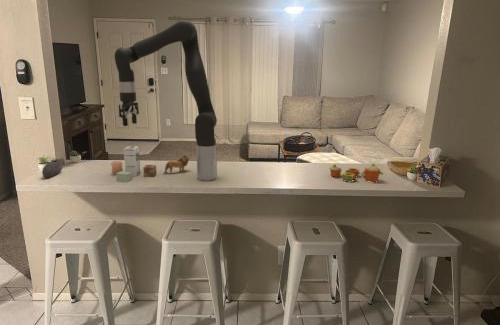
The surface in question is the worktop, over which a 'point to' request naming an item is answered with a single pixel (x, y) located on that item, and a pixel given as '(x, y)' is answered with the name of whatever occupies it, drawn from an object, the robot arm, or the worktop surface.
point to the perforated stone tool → (52, 168)
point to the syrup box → (132, 160)
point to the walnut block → (149, 170)
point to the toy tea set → (369, 173)
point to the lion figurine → (177, 164)
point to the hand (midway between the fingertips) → (130, 124)
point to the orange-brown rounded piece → (116, 167)
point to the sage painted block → (124, 176)
